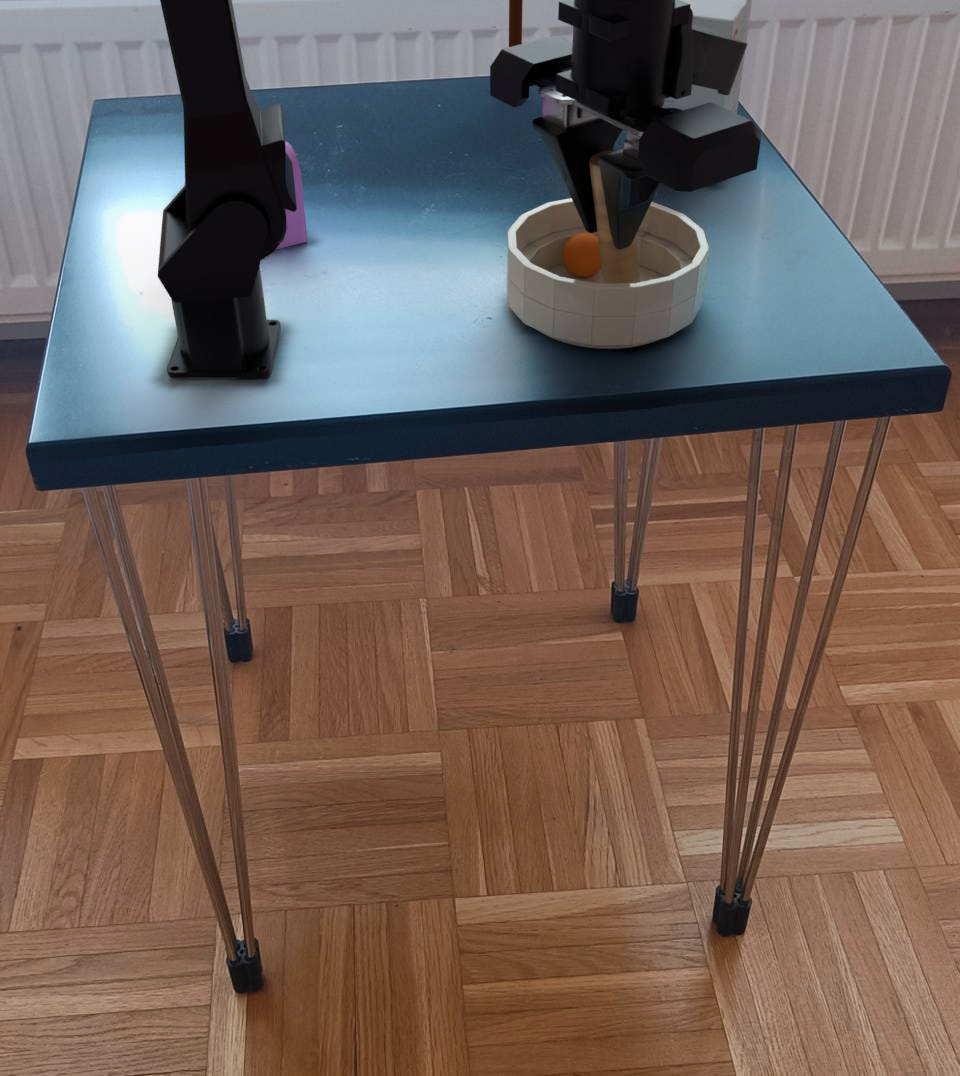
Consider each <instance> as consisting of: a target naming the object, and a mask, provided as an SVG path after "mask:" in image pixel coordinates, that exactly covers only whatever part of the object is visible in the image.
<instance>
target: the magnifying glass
mask: <svg viewBox="0 0 960 1076" xmlns="http://www.w3.org/2000/svg"><path fill="white" fill-rule="evenodd" d="M523 3H524V2H523V0H508V47H512V46H516V45H520V44H523Z"/></svg>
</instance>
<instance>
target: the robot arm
mask: <svg viewBox="0 0 960 1076" xmlns="http://www.w3.org/2000/svg"><path fill="white" fill-rule="evenodd" d="M159 2H160V6H161V11H162V16H163V20H164V25H165V30H166V34H167V38H168V44H169V46H170V53H171V57H172V61H173V66H174V71H175V75H176V79H177V84H178V89H179V94H180V98H181V103H182V109H183V145H184V146H183V148H184V149H183V153H184V156H183V157H184V183H185V186H184V185H183V187H182V188H181V189H180V191H179V192H177V194H176V195H175V196H174V197H173V199H172V200H171V201H170V202H169V203H168V204H167V205H166V206H165V207H164V209H163V211H162V217H161V231H160V243H159V255H158V267H157V278H158V280H159V281H160V283H161V285H162V286H163V288H164V289H165V291H166V293H167V294H168V296H169V297H170V300H171V306H172V311H173V316H174V317H173V318H174V322H175V328H176V334H177V339H176V342H175V344H174V347H173V350H172V353H171V356H170V358H169V362H168V363H167V368H166V372H167V376H168V377H169V378H171V379H264V378H268V377H270V376H271V374H272V371H273V365H274V361H275V357H276V352H277V347H278V343H279V339H280V335H281V330H282V326H281V321H279V320H278V319H268V318H267V312H266V305H265V297H264V287H263V280H262V273H261V263H262V260H264V259H265V258H268V257H269V256H271V255H273V254H274V252H275V251H276V250H277V249H276V248H277V247H278V246H279V244H280V243H281V242H283V240H284V237H285V234H286V209H287V210H290V211H292V212H295V211H296V210H297V205H296V195H295V185H294V175H293V165H292V161H291V160H290V158H289V157H288V155H287V153H286V144H285V141H286V136H285V125H284V112H283V106H282V104H280V103H279V104H275V105H271V106H269V107H265V108H261V109H260V107H259V105H258V103H257V101H256V98H255V96H254V94H253V92H252V89H251V87H250V85H249V82H248V79H247V76H246V71H245V66H244V59H243V54H242V53H243V52H242V49H241V43H240V38H239V32H238V27H237V22H236V21H237V20H236V15H235V10H234V5H233V0H159ZM557 13H558V15H557V19H558V21H560V22H562V23H565V24H567V25H569V26H572V41H571V40H568V39H566V38H564V37H562V36H559V35H552V36H549V37H544V38H540V39H536V40H533V41H528V42H524V43H522V44H520V45H516V46H512V47H509V46H508V47H504V48H502V49H500V51H499V53H498V54H497V56H496V57H495V59H494V60H493V61H492V63H491V65H490V66H489V96H490V97H492V98H494V99H496V100H498V101H500V102H502V103H504V104H506V105H508V106H510V107H512V108H519V107H521V106H523V105H524V103H526V101H527V100H528V99H529V98H530V87H534V86H535V87H537V88H538V90H537V91H538V92H537V93H538V94H537V95H538V96H540V97H541V98H542V105H541V106H542V107H541V109H542V110H541V114H542V115H541V116H538V117H536V118H533V119H532V121H531V124H532V129H533V130H534V131H535V132H537V133H538V134H539V135H540V137H541V139H542V141H543V144H544V145H545V147H546V149H547V150H548V153H549V155H550V156H551V159H552V160H553V162H554V164H555V166H556V169H557V170H558V172H559V174H560V177H561V179H562V180H563V182H564V185H565V186H566V189H567V191H568V194H569V195H570V196H569V197H570V198H572V200H573V202H574V205H575V207H576V209H577V211H578V214H579V216H580V218H581V220H582V223H583V225H584V227H585V229H586V231H587V232H589V233H595V232H597V225H596V216H595V208H594V200H593V192H592V183H591V175H590V167H589V159H590V158H591V157H592V156H593V155H595V154H597V153H600V152H604V151H610V150H614V148H615V144H616V142H617V141H618V139H619V137H620V135H621V133H622V132H623V131H626V139H624V140H623V145H622V149H618V151H615V152H611V153H608V154H605V155H602V156H599V157H598V161H599V167H600V173H601V179H602V184H603V191H604V197H605V203H606V209H607V215H608V221H609V227H610V232H611V236H612V239H613V243H614V247H615V248H616V249H618V250H621V249H624V248H627V247H629V246H630V245H631V244H632V242H633V240H634V238H635V236H636V234H637V231H638V229H639V227H640V225H641V223H642V221H643V219H644V217H645V215H646V213H647V211H648V208H649V206H650V204H651V202H653V200H654V198H655V197H656V194H657V192H658V190H659V189H660V187H661V185H664V186H666V187H668V188H669V189H672V190H674V191H676V192H685V193H686V192H688V193H690V192H691V193H692V192H694V191H697V190H701V189H703V188H706V187H709V186H712V185H716V184H718V183H720V182H721V183H722V182H723V181H727V180H730V179H733V178H735V177H738V176H741V175H745V174H747V173H751V172H753V171H756V170H757V169H758V162H759V155H760V149H761V144H762V143H761V142H762V132H761V130H760V129H759V128H758V126H757V125H756V124H755V123H754V121H753V120H752V119H749V118H748V117H745V116H743V115H740V114H738V113H737V114H736V113H733V112H731V111H729V110H727V109H724V108H722V107H720V106H717V105H715V104H713V103H706V104H703V105H700V106H696V107H693V108H690V109H686V110H680V109H677V108H662V106H663V105H664V100H665V99H666V98H669V97H672V98H674V99H679V98H683V97H686V96H689V95H691V90H692V85H696V86H701V87H706V88H710V89H715V90H717V91H718V93H719V94H722V95H729V94H730V91H731V89H732V86H733V83H734V80H735V78H736V75H737V72H738V69H739V67H740V64H741V61H742V58H743V56H744V53H745V54H746V50H747V47H748V42H746V43H745V42H743V41H740V40H738V39H735V38H733V37H730V36H727V35H725V34H722V33H720V32H717V31H714V30H712V29H709V28H706V27H703V26H700V25H697V24H695V23H692V21H693V12H692V10H691V8H690V4H688V3H686V2H683V1H680V0H560V1H558V11H557ZM275 249H276V250H275Z"/></svg>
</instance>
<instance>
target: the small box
mask: <svg viewBox="0 0 960 1076" xmlns="http://www.w3.org/2000/svg"><path fill="white" fill-rule="evenodd" d="M680 1H683V2H686V3H688V4H690V8H691V10H692V12H693V21H692V23H695V24H697V25H700V26H703V27H706V28H709V29H712V30H714V31H717V32H720V33H722V34H725V35H727V36H730V37H733V38H735V39H738V40H740V41H743V42H745V43H748V34H749V25H750V17H751V12H752V11H751V10H752V4H753V3H752V2H753V0H680ZM745 57H746V52H745V53H744V56H743V58H742V61H741V64H740V67H739V69H738V72H737V75H736V78H735V80H734V83H733V86H732V89H731V91H730V94H729V95H722V94H719V93H718V91H717V90H715V89H710V88H706V87H701V86H696V85H692V90H691V95H689V96H686V97H683V98H679V99H674V98H672V97H669V98H666V99H665V100H664V105H663V106H662V108H677V109H680V110H686V109H690V108H693V107H696V106H700V105H703V104H706V103H713V104H715V105H717V106H720V107H722V108H724V109H727V110H729V111H731V112H733V113H736V114H738V110H739V102H740V101H739V100H740V92H741V84H742V77H743V70H744V64H745Z"/></svg>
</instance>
